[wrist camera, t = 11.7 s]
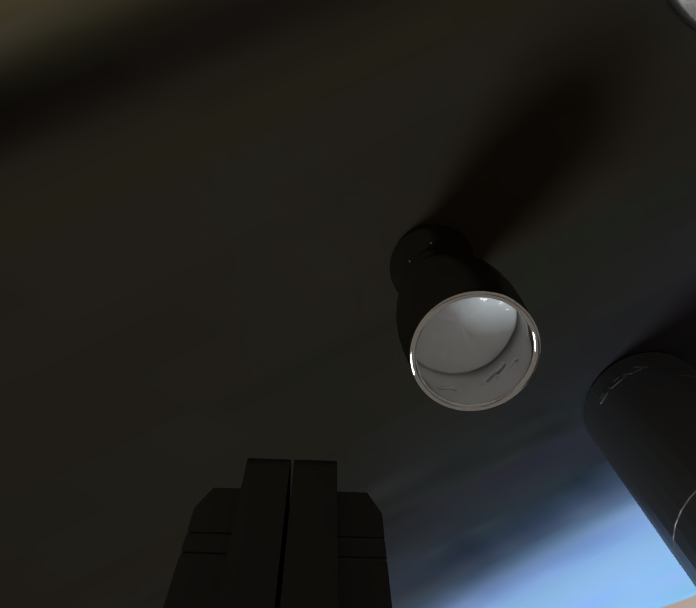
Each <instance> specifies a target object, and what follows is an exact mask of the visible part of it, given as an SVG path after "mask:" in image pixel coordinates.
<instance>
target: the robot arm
mask: <svg viewBox="0 0 696 608" xmlns="http://www.w3.org/2000/svg"><path fill="white" fill-rule="evenodd" d="M584 417H585V423H586V427H587V430H588V432H589V433H590V435H591V437H592V438H593V440H594V441H595V443H596V444H597V446H598V447H599V449H600V450H601V451H602V453H603V454H604V456H605V457H606V459H607V460H608V462H609V463H610V465H611V466H612V468H613V469H614V471H615V472H616V473H617V475H618V476H619V478H620V479H621V481H622V482H623V483H624V485H625V486H626V488H627V489H628V491H629V492H630V494H631V495H632V496H633V498H634V499H635V501H636V502H637V504H638V505H639V506H640V508H641V509H642V511H643V512H644V514H645V515H646V517H647V518H648V519H649V521H650V522H651V524H652V525H653V527H654V528H655V529H656V531H657V532H658V534H659V535H660V537H661V538H662V539H663V541H664V542H665V544H666V545H667V547H668V548H669V550H670V551H671V552H672V554H673V555H674V557H675V558H676V560H677V561H678V562H679V564H680V565H681V566H682V568H683V569H684V571H685V572H686V573H687V575H688V576H689V578H690V579H691V581H692V582H693V584H694V585H695V586H696V370H695V369H694V368H693V367H692V366H690V365H689V364H688V363H686V362H685V361H683V360H682V359H680V358H678V357H676V356H673V355H670V354H666V353H660V352H648V353H640V354H636V355H632V356H629V357H627V358H625V359H622V360H620V361H618V362H617V363H615V364H614V365H612V366H611V367H609V368H608V369H607V370H606V371H605V372H604V373H603V374H601V375H600V376H599V377H598V379H597V380H596V382H595V383H594V384H593V386H592V387H591V389H590V392H589V394H588V396H587V398H586V403H585V408H584ZM290 486H291V460H286V459H258V458H248V460H247V463H246V468H245V473H244V477H243V482H242V486H241V489H238V488H213V489H212V490H211V491H210V492H209V493H208V494H207V495H206V496H205V497H204V498H203V499H202V500H201V501H200V502H199V504H198V505H197V506H196V507H195V508H194V511H193V514H192V517H191V521H190V524H189V527H188V530H187V536H186V537H185V540H184V543H183V546H182V549H181V556H180V557H179V559H178V562H177V565H176V569H175V572H174V575H173V578H172V581H171V585H170V588H169V591H168V594H167V597H166V600H165V604H164V607H163V608H392V603H391V594H390V584H389V575H388V566H387V562H386V558H387V557H386V548H385V542H384V529H383V520H382V513H381V512H380V510H379V509H378V507H377V506H376V505H375V503H374V502H373V500H372V499H371V498H370V496H369V495H368V493H360V492H337V461H319V460H294V468H293V479H292V489H291V499H290Z"/></svg>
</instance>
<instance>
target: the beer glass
mask: <svg viewBox="0 0 696 608" xmlns="http://www.w3.org/2000/svg"><path fill="white" fill-rule="evenodd" d="M390 276H391V280H392V282H393V285H394V287H395V289H396V290H397V292H398V293H399V294H398V299H397V309H396V322H397V329H398V335H399V339H400V342H401V345H402V348H403V351H404V354H405V356H406V359H407V361H408V363H409V365H410V367H411V370H412V373H413V376H414V378H415V380H416V382H417V384H418V385H419V387H420V388H421V389H422V390H423V391H424V392H425V393H426V394H427V395H428V396H429V397H430V398H431V399H433V400H434V401H436V402H438V403H439V404H441V405H444V406H446V407H449V408H452V409H456V410H463V411H477V410H484V409H488V408H492V407H495V406H497V405H500V404H502V403H504V402H506V401H508V400H509V399H511V398H512V397H514V396H515V395H516V394H517V393H519V392H520V391H521V390H522V389H523V388H524V387H525V385H526V384H527V383H528V382H529V380H530V379H531V377H532V376H533V374H534V372H535V370H536V367H537V364H538V361H539V357H540V349H541V344H540V336H539V331H538V328H537V326H536V323H535V321H534V320H533V318H532V316H531V315H530V314H529V312H528V310H527V308H526V306H525V305H524V303H523V301H522V299H521V297H520V296H519V294H518V293H517V291H516V290H515V289H514V287H513V286H512V284H511V283H510V282H509V281H508V280H507V279H506V278H505V277H504V276H503V275H502V274H501V273H500V272H499V271H498V270H497V269H496V268H495V267H493V266H492V265H490V264H489V263H487V262H485V261H484V260H482V259H480V258H478V257H476V256H475V255H474V252H473V249H472V247H471V245H470V244H469V242H468V241H467V239H466V238H465V237H464V236H463V235H462V234H460V233H459V232H458V231H456V230H454V229H452V228H449V227H446V226H442V225H427V226H423V227H419V228H417V229H415V230H413V231H411V232H409V233H408V234H407V235H405V236H404V237H403V238H402V239H401V240H400V242H399V243H398V244H397V246H396V247H395V249H394V251H393V254H392V257H391V261H390Z"/></svg>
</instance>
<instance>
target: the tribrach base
mask: <svg viewBox="0 0 696 608" xmlns="http://www.w3.org/2000/svg"><path fill="white" fill-rule="evenodd" d="M666 1H667V3H668V4H669V6H670V7H671V8H672V9H673V11H674V12H675V13H676V14H677V15H678V16H679V17H680V19H682V20H683V21H684V22H685V23H686V24H687V25H689V26H690V27H691V28H692V29H694V30H696V0H666Z"/></svg>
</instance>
